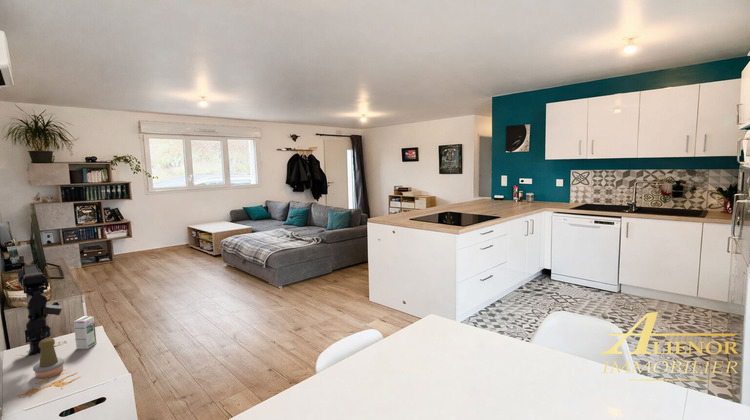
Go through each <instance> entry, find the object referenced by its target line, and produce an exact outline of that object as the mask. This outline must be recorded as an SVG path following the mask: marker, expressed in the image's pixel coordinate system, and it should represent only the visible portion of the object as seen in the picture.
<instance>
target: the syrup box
mask: <svg viewBox="0 0 750 420" xmlns="http://www.w3.org/2000/svg"><path fill="white" fill-rule="evenodd" d="M95 323H96V322H95V317H94V315H84V316H81V317H80V318H78V319H75V320H73V329H74V337H75V345H76V346H75V347H76V349H77V350H78V349H79V350H88V349H90V348H91V347H94V346H95V345H96V344H97V334H96V326H95Z"/></svg>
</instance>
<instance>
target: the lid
mask: <svg viewBox="0 0 750 420" xmlns="http://www.w3.org/2000/svg"><path fill="white" fill-rule="evenodd" d="M57 359H58V363H56V364H55V365H52V366H49V367H43V368H42V367H40V366H39V365H40V361H39V362H38V363H36V364H35V365H33V366H32V371H33V372H34V373H35V372H45V371H49V370H52V369H55V368H57V367H59V366H61V365H62V364H63V365H64V363H65V360H64V358H62V357H57Z"/></svg>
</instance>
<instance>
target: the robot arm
mask: <svg viewBox="0 0 750 420" xmlns="http://www.w3.org/2000/svg"><path fill="white" fill-rule="evenodd" d="M16 274H17V276H16V278H17V282H18V284H20V288H21V289H22V291H23V294H25V296H26V303H27V304H26V305H27V306H26V309H27V313H28V315H27V316H28V317H27V319H28V320H27V321H26V324H25V325H26V326H25V329H24V331H23V333H24V342H25V344H27V343H29V351H28V356H31V355H32V356H33V355H37V354H40V352H41V348H39V342H40V341H41V340H43V339H46V338H50V337H51V335H52V333H51V327H50V326H49V325H48V324H47V317H48V315H55V316H60V315H61V313H62V310H63V306H62V304H60V302H59V301H54V302H52V304H51V303H50V304H47V303H48V298H47V296H46V294H45V291H47V290H48V288H49V287H50V284H49V280H48V277H47V275H44V273H43V272H42V270H41V268H39V267H37V264H29V265H24V266H22V268H21V269H20V270H19V271H17V273H16Z"/></svg>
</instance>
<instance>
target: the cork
mask: <svg viewBox="0 0 750 420" xmlns="http://www.w3.org/2000/svg"><path fill="white" fill-rule="evenodd" d="M55 342H56V341H55V339H54V338H53V337H48V338H45V339H43V340H41V341H40V342H39V348H41V352H40V353H39V355H40V356H39V362H40V365H39V366H40V367H42V368H43V367H49V366H52V365H55V364H56V363H58V359H57V358H58V356H57V353H56V350H55Z"/></svg>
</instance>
